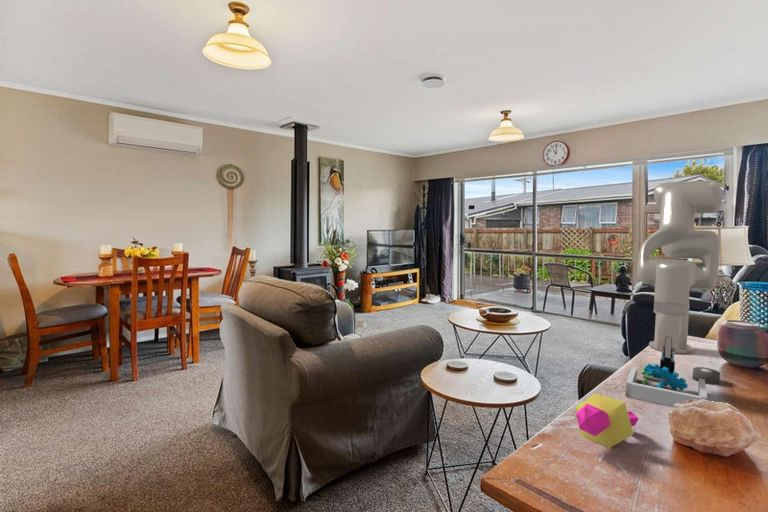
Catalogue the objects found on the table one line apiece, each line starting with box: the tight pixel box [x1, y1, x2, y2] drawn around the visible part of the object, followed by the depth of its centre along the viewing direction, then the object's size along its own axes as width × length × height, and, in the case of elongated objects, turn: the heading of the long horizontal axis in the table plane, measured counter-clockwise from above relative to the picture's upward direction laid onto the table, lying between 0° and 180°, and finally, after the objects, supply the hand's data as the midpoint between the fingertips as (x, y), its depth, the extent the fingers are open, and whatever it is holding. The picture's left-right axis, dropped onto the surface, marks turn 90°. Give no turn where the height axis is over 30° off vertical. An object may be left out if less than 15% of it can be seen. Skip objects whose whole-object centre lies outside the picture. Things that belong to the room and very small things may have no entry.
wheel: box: [692, 366, 721, 386], centre depth 115 cm, size 6×6×3 cm
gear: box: [640, 363, 689, 391], centre depth 107 cm, size 11×6×10 cm
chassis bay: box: [625, 366, 708, 407], centre depth 105 cm, size 15×16×4 cm
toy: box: [575, 392, 640, 449], centre depth 82 cm, size 10×18×10 cm, turn 128°
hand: (666, 374), depth 109 cm, fingers closed
